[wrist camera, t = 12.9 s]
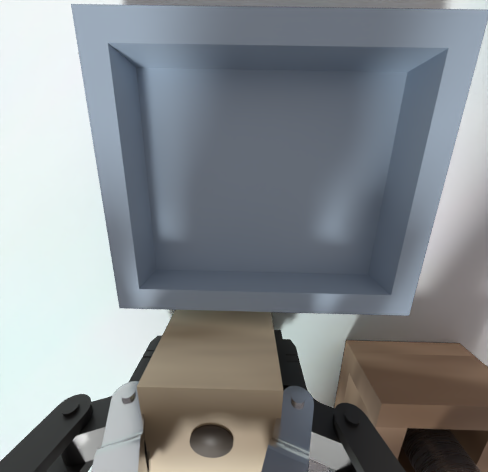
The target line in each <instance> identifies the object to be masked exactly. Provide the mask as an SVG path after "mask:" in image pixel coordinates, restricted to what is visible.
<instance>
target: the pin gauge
mask: <svg viewBox="0 0 488 472" xmlns="http://www.w3.org/2000/svg"><path fill="white" fill-rule="evenodd" d="M402 448H403V450H404V452H405V453H406V455H407V457H408V459H409V461H410V463H411V465H412V466H413V468H414V470H415V472H481V471H480V469H479V468H478V467H477V465H476V464H475V463H474V461H473V460H472V459H471V458H470V456H469V455H468V454H467V452H466V451H465V450H464V448H463V447H462V446H461V444H460V443H459V442H458V440H457V439H456V438H455V436H454V435H453V434H452V432H451V431H450V430H449V429H419V428H407V431H406V434H405V437H404V441H403V444H402Z"/></svg>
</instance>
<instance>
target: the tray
mask: <svg viewBox="0 0 488 472" xmlns="http://www.w3.org/2000/svg"><path fill="white" fill-rule="evenodd" d="M71 7H72V13H73V19H74V26H75V32H76V38H77V44H78V51H79V57H80V63H81V69H82V76H83V82H84V88H85V94H86V101H87V107H88V113H89V119H90V126H91V132H92V138H93V145H94V151H95V157H96V163H97V170H98V176H99V182H100V188H101V195H102V201H103V207H104V213H105V220H106V226H107V232H108V238H109V245H110V251H111V257H112V263H113V270H114V276H115V282H116V289H117V295H118V301H119V307H120V308H134V309H173V310H211V311H250V312H289V313H328V314H366V315H405V316H409V314H410V310H411V307H412V303H413V299H414V295H415V291H416V288H417V284H418V280H419V276H420V273H421V269H422V265H423V261H424V258H425V254H426V250H427V246H428V243H429V239H430V235H431V231H432V228H433V224H434V220H435V216H436V212H437V209H438V205H439V201H440V197H441V194H442V190H443V186H444V182H445V179H446V175H447V171H448V167H449V164H450V160H451V156H452V152H453V149H454V145H455V141H456V137H457V133H458V130H459V126H460V122H461V118H462V115H463V111H464V107H465V103H466V100H467V96H468V92H469V88H470V85H471V81H472V77H473V73H474V70H475V66H476V62H477V58H478V54H479V51H480V47H481V43H482V39H483V36H484V32H485V28H486V24H487V21H488V10H475V9H399V8H324V7H248V6H172V5H97V4H71Z"/></svg>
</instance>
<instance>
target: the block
mask: <svg viewBox="0 0 488 472" xmlns="http://www.w3.org/2000/svg"><path fill="white" fill-rule="evenodd" d="M137 392H138V399H139V405H140V411H141V414H144V417H145V443H146V450H147V451H150V458H151V470H150V472H261V471H262V467H263V463H264V459H265V455H266V451H267V447H268V443H269V440H270V438H272V434H273V430H274V426H275V422H276V418H281V414H282V402H283V385H282V378H281V372H280V366H279V359H278V353H277V347H276V340H275V334H274V328H273V321H272V315H271V312H250V311H211V310H175V312H174V314H173V316H172V317H171V319H170V321H169V323H168V325H167V327H166V329H165V331H164V333H163V335H162V337H161V339H160V341H159V343H158V345H157V347H156V349H155V351H154V353H153V355H152V357H151V359H150V361H149V363H148V365H147V367H146V369H145V371H144V373H143V375H142V377H141V379H140V381H139V383H138V385H137Z"/></svg>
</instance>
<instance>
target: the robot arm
mask: <svg viewBox="0 0 488 472" xmlns="http://www.w3.org/2000/svg"><path fill="white" fill-rule="evenodd" d="M274 334H275V340H276V347H277V353H278V359H279V366H280V372H281V378H282V385H283V402H282V414H281V418H276V422H275V426H274V430H273V434H272V438H270V440H269V443H268V447H267V451H266V455H265V459H264V463H263V467H262V471H261V472H308V467H309V459H311V460H313V461H315V462H318V463H320V464H322V465H324V466H327V467H328V469H329V471H330V472H406V471H405V470H404V468H403V467H402V466H401V464H400V463H399V461H398V460H397V458H396V457H395V456H394V454H393V453H392V451H391V450H390V448H389V447H388V446H387V444H386V443H385V441H384V440H383V438H382V437H381V436H380V434H379V433H378V431H377V430H376V428H375V427H374V426H373V424H372V423H371V421H370V420H369V418H368V417H367V416H366V414H365V413H364V412H363V411H362V410H361V409H360V408H358V407H357V406H355V405H353V404H350V403H340V404H338V405H337V406H336V407H335V408H332V407H329V406H326V405H324V404H321V403H319V402H318V401H316V400H315V399H314V398H313V397H312V396H311V394H310V393H309V392H308V391H307V388H306V385H305V381H304V377H303V373H302V369H301V366H300V363H299V358H298V354H297V350H296V347H295V345H294V344H293V343H292V341H291V340H290V339H282V334H281V330H274ZM161 337H162V336H157V337H156V338H155V339H154V340H153V341H151V342H150V344H149V346H148V348H147V350H146V351H145V353H144V355H143V358H142V359H141V361H140V362H139V364H138V366H137V368H136V370H135V371H134V373H133V375H132V377H131V379H130V381H129V382H128V383H126V384H124V385H122V386H121V387H119V388H118V389H117V390H116V391H115V393H114V394H113V396H111V397H108V398H104V399H100V400H97V401H93V402H91V399H90V397H89V396H88V395H85V394H79V395H74V396H72V397H70V398H68V399H66V400H64V401H63V402H62V403H61V404H59V405H58V406H57V407H56V408H55V409H54V410H53V411H52V412H51V413H50V414H49V415H48V416H47V417H46V418H45V419H44V420H43V421H42V422H41V423H40V424H39V425H38V426H37V427H35V428H34V429H33V430H32V431H31V432H30V433H29V434H28V435H27V436H26V437H25V438H24V439H23V440H22V441H21V442H20V443H19V444H18V445H17V446H16V447H15V448H14V449H13V450H12V451H11V452H10V453H9V454H8V455H6V456H5V457H4V458H3V459H2V460H1V461H0V472H88V470H89V469H90V468H91V466H92V470H91V472H150V470H151V458H150V451H147V450H146V443H145V417H144V414H141V411H140V405H139V399H138V392H137V385H138V383H139V381H140V379H141V377H142V375H143V373H144V371H145V369H146V367H147V365H148V363H149V361H150V359H151V357H152V355H153V353H154V351H155V349H156V347H157V345H158V343H159V341H160V339H161Z"/></svg>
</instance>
